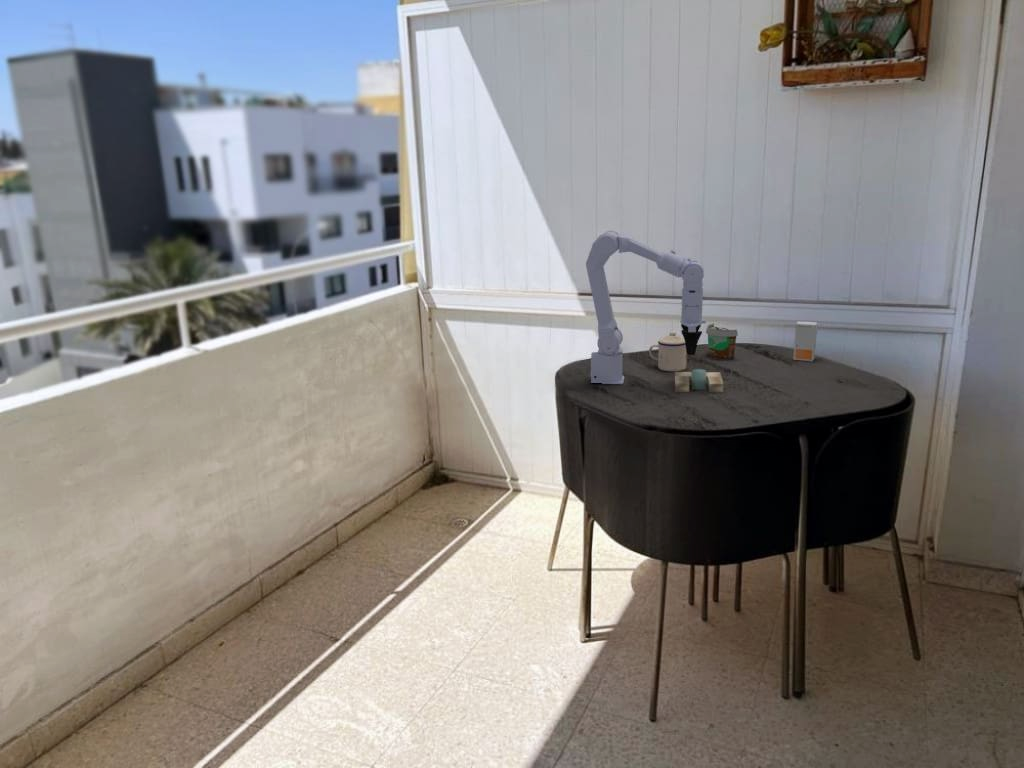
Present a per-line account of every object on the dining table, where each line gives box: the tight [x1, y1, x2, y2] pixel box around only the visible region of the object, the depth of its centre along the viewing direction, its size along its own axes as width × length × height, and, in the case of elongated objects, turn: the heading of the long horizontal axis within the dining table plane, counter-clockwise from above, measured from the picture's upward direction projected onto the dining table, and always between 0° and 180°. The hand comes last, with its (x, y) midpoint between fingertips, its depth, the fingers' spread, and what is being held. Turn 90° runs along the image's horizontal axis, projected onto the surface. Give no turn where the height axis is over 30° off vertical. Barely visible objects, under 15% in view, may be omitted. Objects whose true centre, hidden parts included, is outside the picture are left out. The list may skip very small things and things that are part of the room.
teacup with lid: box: [648, 331, 687, 372], centre depth 228 cm, size 12×9×12 cm
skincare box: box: [793, 320, 819, 362], centre depth 231 cm, size 6×4×12 cm
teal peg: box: [690, 368, 707, 391], centre depth 207 cm, size 4×4×5 cm
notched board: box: [674, 371, 724, 393], centre depth 209 cm, size 13×12×2 cm
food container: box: [705, 323, 739, 360], centre depth 238 cm, size 12×6×10 cm, turn 25°
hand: (690, 351), depth 209 cm, fingers open, 7 cm apart
